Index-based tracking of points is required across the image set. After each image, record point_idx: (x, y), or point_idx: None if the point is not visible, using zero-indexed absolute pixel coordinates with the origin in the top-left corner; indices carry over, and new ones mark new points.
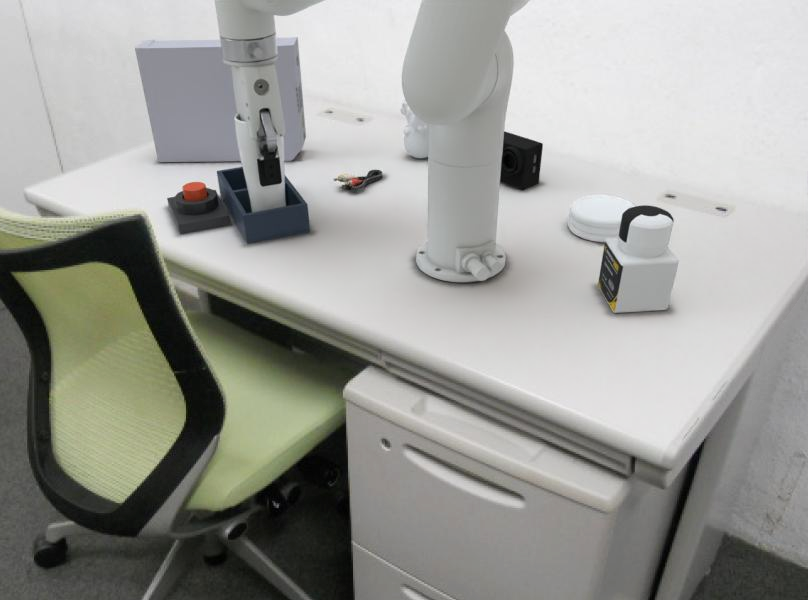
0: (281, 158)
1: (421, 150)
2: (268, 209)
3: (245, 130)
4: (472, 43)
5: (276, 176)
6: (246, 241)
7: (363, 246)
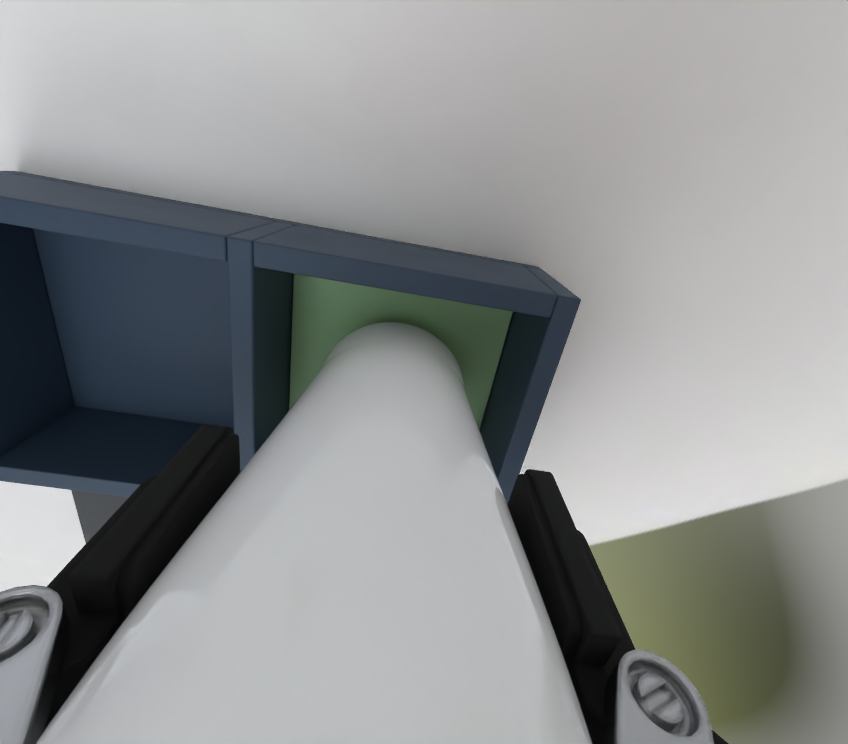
0: (514, 540)
1: None
2: (505, 459)
3: None
4: None
5: (585, 544)
6: None
7: (807, 132)
